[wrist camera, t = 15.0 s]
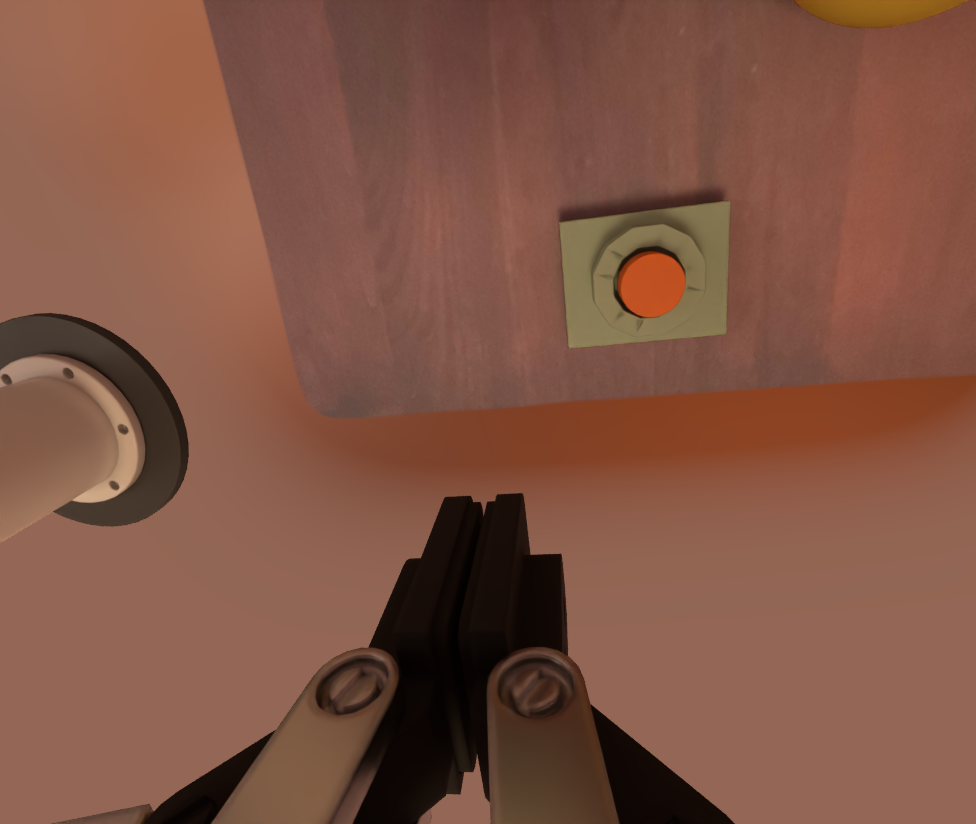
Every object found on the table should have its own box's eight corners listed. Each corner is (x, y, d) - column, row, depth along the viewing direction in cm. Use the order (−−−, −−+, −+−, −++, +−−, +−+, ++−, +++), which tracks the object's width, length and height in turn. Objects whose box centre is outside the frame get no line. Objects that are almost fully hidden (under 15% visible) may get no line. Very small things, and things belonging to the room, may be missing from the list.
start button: (618, 314, 33) (621, 320, 31) (616, 254, 31) (619, 257, 30) (679, 308, 32) (685, 314, 31) (679, 247, 31) (685, 249, 29)
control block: (567, 342, 37) (569, 355, 34) (559, 221, 34) (559, 223, 31) (718, 328, 35) (735, 340, 32) (722, 200, 33) (740, 199, 29)
